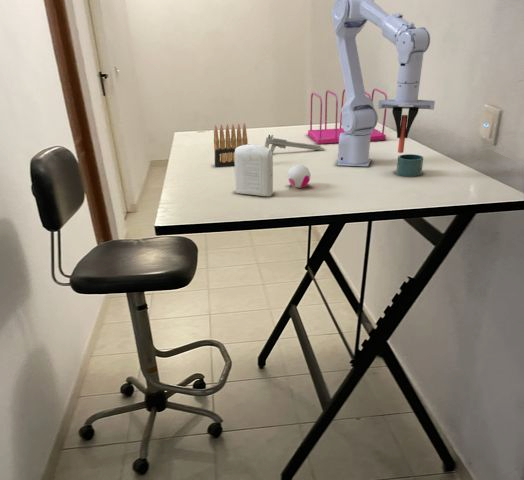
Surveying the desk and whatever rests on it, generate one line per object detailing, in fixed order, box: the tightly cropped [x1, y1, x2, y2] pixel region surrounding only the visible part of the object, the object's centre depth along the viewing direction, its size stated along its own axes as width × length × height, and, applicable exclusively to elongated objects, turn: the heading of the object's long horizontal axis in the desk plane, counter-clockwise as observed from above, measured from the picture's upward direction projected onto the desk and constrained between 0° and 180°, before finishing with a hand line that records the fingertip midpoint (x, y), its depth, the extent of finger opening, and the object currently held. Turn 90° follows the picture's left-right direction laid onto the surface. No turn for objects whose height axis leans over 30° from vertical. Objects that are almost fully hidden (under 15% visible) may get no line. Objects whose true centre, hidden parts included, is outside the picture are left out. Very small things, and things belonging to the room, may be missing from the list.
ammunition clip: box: [213, 123, 249, 168], centre depth 162 cm, size 11×2×12 cm, turn 101°
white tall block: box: [234, 143, 274, 197], centre depth 136 cm, size 10×4×12 cm, turn 68°
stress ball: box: [287, 164, 311, 189], centre depth 142 cm, size 8×8×7 cm
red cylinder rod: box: [397, 114, 408, 154], centre depth 144 cm, size 2×2×10 cm
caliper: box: [264, 134, 325, 154], centre depth 176 cm, size 20×1×6 cm, turn 102°
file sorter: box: [307, 87, 388, 145], centre depth 191 cm, size 17×25×16 cm
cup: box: [396, 153, 424, 177], centre depth 151 cm, size 7×7×4 cm
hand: (402, 137), depth 145 cm, fingers closed on red cylinder rod, 1 cm apart
